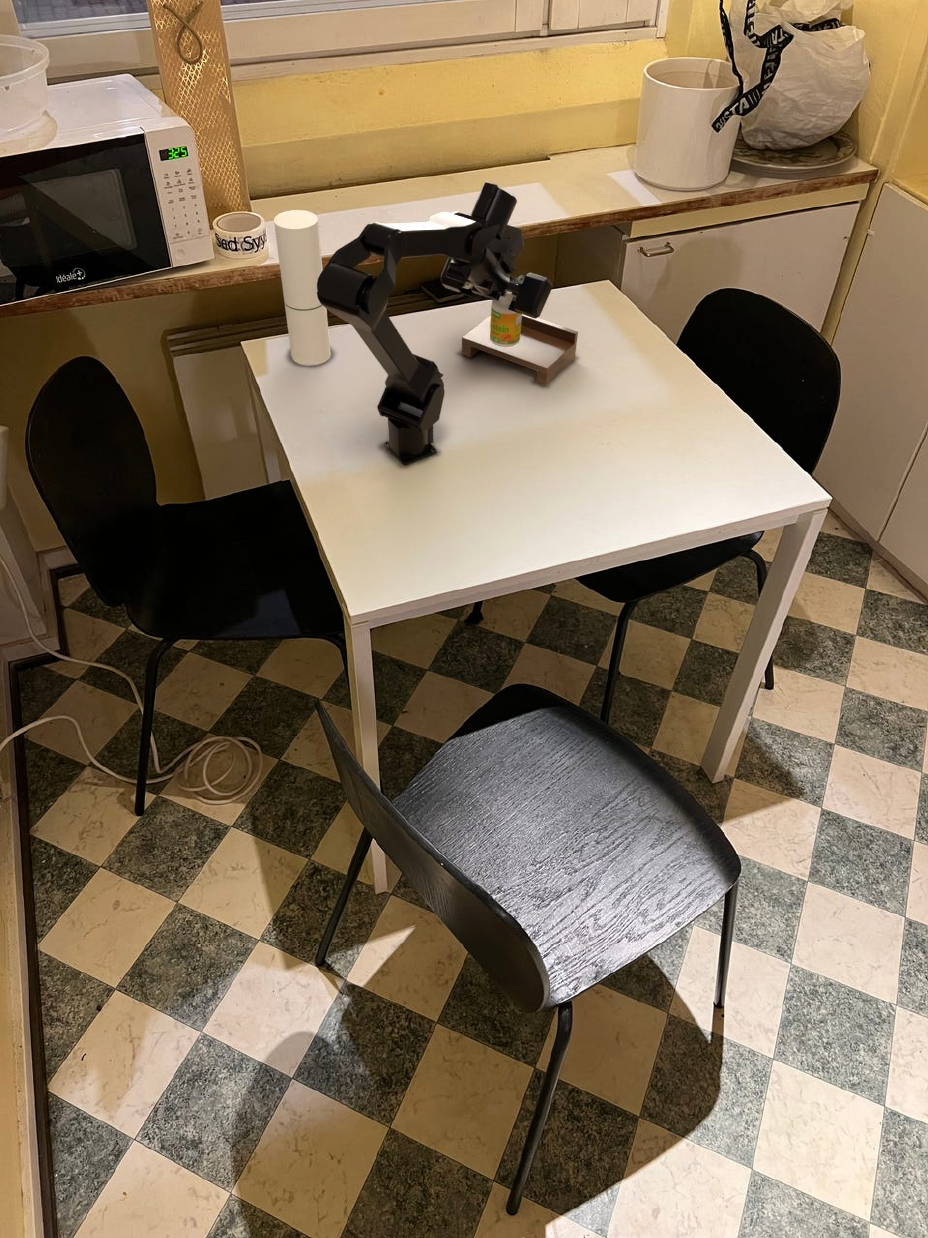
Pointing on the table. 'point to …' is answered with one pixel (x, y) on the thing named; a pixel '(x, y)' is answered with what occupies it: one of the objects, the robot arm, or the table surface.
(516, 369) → the table surface
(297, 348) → the cylindrical container
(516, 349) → the shelf
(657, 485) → the table surface
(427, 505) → the table surface
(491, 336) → the supplement bottle
